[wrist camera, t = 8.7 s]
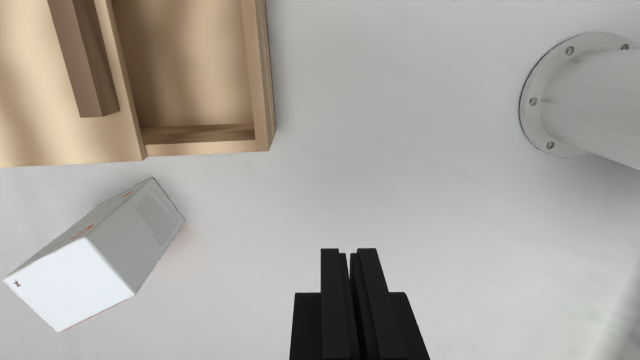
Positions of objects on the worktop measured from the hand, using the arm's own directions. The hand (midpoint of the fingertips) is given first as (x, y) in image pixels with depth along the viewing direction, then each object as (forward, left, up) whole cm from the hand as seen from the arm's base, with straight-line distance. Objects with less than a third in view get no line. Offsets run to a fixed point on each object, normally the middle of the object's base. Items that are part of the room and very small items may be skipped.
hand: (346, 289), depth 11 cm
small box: (+20, +10, -28) cm, 36 cm away
